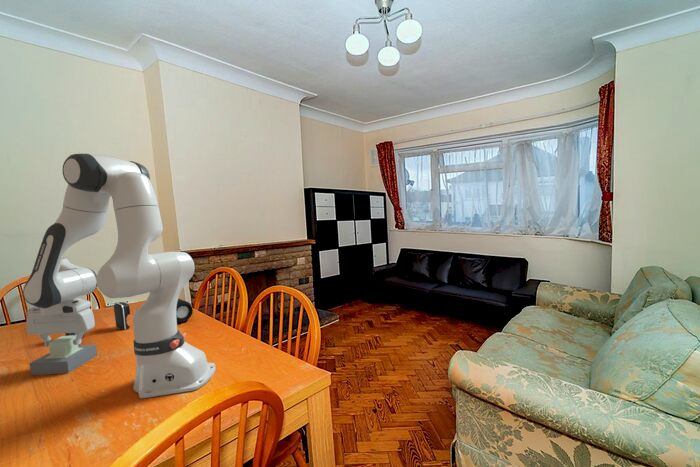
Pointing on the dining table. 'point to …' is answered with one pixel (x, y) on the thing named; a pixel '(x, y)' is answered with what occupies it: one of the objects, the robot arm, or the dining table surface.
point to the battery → (121, 315)
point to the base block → (63, 361)
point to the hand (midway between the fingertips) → (63, 344)
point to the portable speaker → (183, 310)
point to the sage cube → (62, 346)
